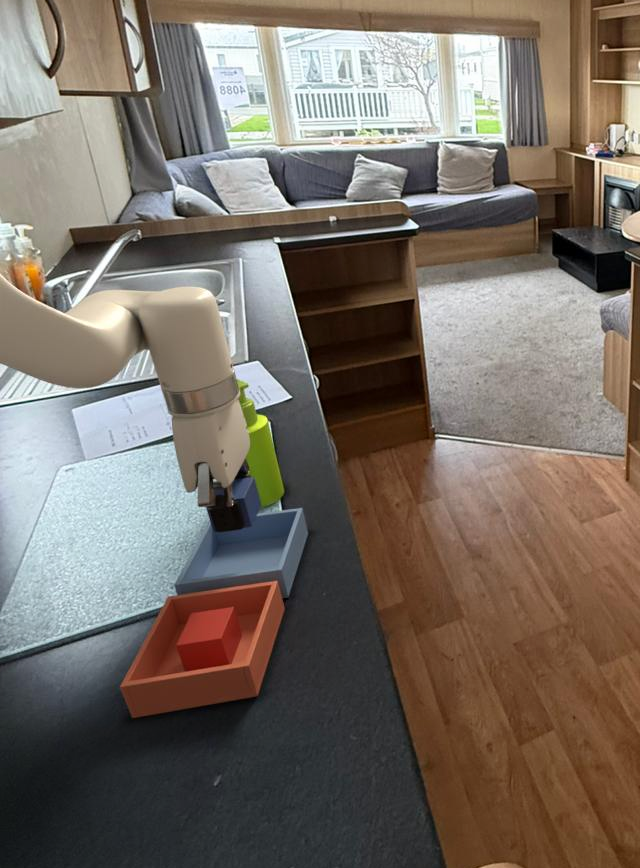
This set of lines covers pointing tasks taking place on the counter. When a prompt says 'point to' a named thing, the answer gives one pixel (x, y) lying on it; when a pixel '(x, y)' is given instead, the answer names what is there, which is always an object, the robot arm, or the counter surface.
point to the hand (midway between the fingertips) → (236, 514)
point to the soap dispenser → (261, 452)
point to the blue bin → (247, 554)
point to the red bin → (176, 689)
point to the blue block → (243, 499)
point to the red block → (209, 639)
